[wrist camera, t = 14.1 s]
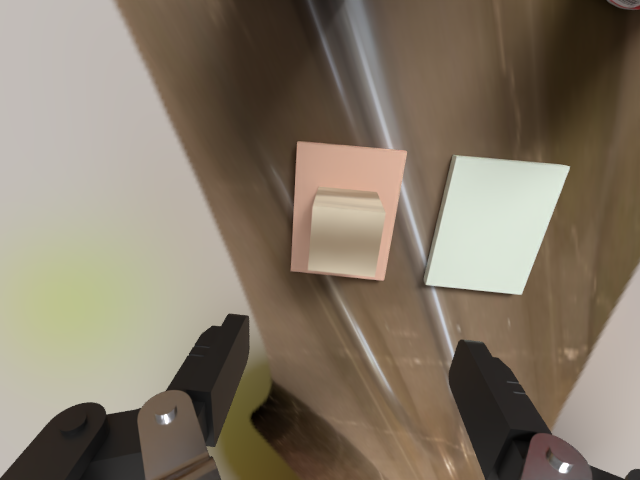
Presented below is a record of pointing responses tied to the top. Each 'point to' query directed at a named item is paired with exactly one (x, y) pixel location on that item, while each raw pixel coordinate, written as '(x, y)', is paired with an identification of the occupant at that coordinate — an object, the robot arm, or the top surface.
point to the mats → (441, 212)
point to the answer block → (346, 231)
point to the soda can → (626, 4)
